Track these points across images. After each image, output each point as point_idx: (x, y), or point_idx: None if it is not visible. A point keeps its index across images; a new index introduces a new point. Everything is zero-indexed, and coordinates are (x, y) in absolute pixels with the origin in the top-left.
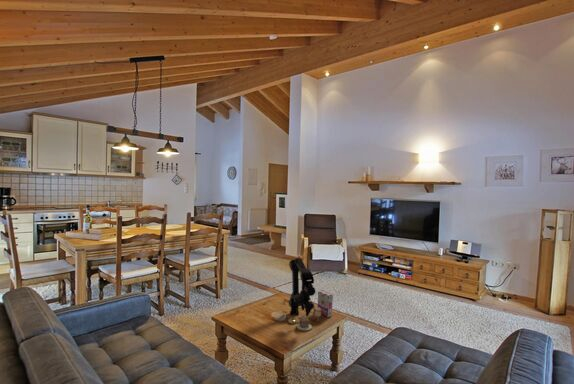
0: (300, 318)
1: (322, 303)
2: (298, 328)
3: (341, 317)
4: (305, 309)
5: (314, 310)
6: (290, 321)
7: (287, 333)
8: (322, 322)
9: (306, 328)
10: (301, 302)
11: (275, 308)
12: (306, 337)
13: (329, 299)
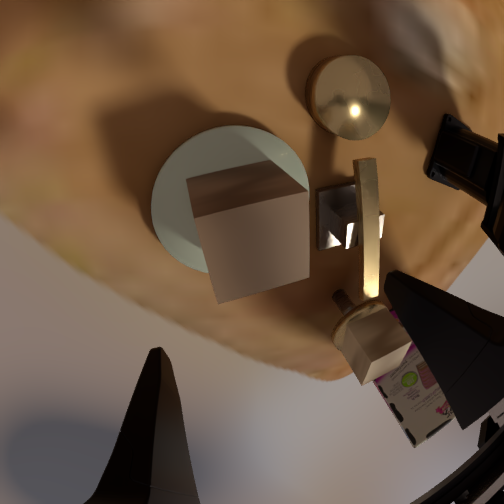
0: (269, 199)
1: (424, 364)
2: (185, 143)
3: (332, 380)
4: (137, 477)
5: (383, 336)
6: (330, 68)
7: (93, 27)
8: (303, 326)
9: (181, 230)
10: (488, 351)
11: (498, 56)
12: (44, 225)
13: (402, 427)
